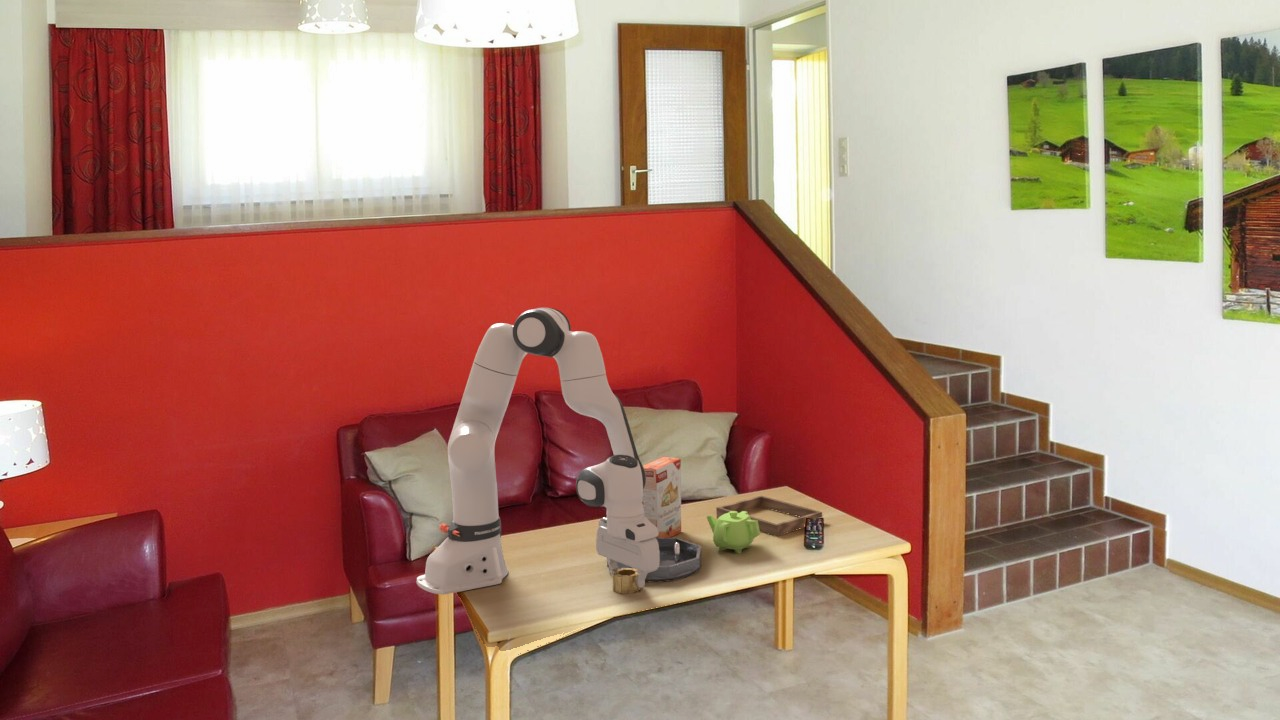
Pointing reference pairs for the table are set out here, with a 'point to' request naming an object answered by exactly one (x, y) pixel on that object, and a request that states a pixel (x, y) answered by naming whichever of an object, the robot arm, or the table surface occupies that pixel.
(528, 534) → the table surface
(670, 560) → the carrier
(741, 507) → the rectangular frame
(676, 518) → the cracker box
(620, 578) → the gear
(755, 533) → the teapot
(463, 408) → the robot arm
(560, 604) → the table surface
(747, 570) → the table surface
